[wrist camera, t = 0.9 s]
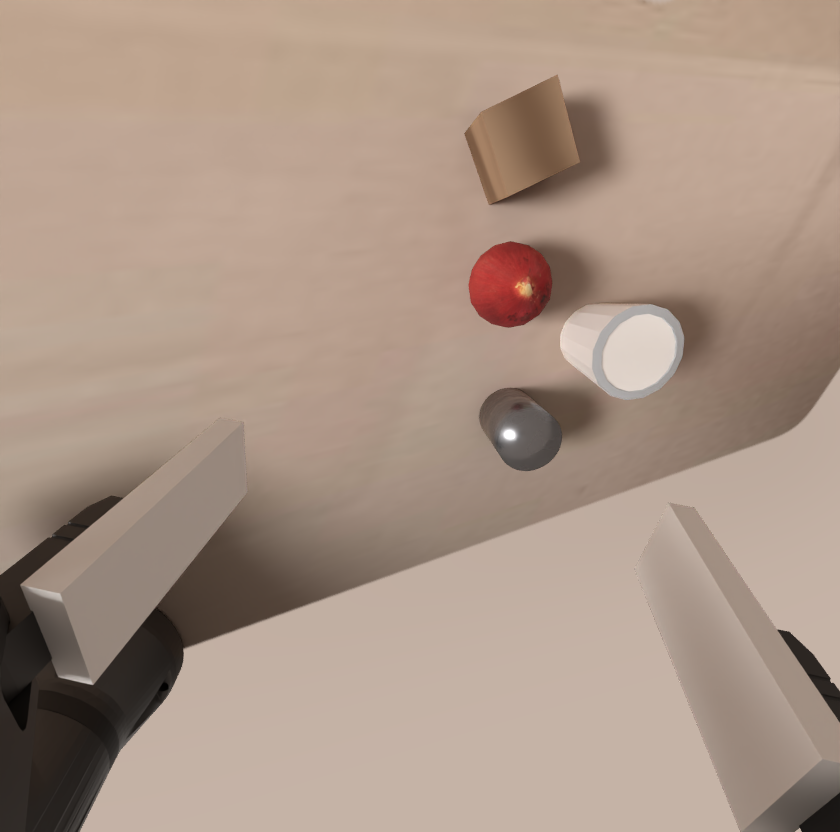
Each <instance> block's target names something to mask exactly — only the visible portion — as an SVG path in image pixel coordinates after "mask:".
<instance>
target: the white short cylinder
mask: <svg viewBox="0 0 840 832" xmlns="http://www.w3.org/2000/svg"><path fill="white" fill-rule="evenodd" d="M683 347H684V335H683V332H682V329H681V325H680V322H679V321H678V320H677V319H676V318H675V317H674V316H673V314H672V313H671V312H670V311H669V310H668V309H665V308H662V307H659V306H656V305H652V304H611V303H598V304H590V305H585V306H584V307H582V308H580V309H578V310H576V311H575V312H574V313H573V314H572V315H571V316H570V317H569V319H568V320H567V321H566V322H565V324H564V327H563V330H562V332H561V335H560V348H561V350H562V353H563V355H564V357H565V359H566V360H567V361H568V362H569V363H571V364H572V365H573V366H574V367H575V368H577V369H578V370H579V371H580V372H582V373H583V374H584V375H585V376H587V377H588V378H589V379H590V380H592V381H593V382H594V383H595V384H596V385H598V386H599V387H600V388H601V389H603V390H604V391H605V392H606V393H608V394H609V395H610V396H613V397H617V398H621V399H624V400H630V399H637V398H644V397H646V396H648V395H649V394H651V393H653V392H655V391H657V390H659V389H661V387H662V386H663V385H664V384H665V383H666V382H667V381H668V380H669V379H670V378H671V377H672V376H673V375H674V373H675V371H676V369H677V367H678V365H679V363H680V361H681V359H682V356H683Z"/></svg>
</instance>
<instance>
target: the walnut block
mask: <svg viewBox="0 0 840 832" xmlns="http://www.w3.org/2000/svg"><path fill="white" fill-rule="evenodd" d="M464 134H465V136H466V139H467V142H468V145H469V148H470V151H471V154H472V157H473V160H474V163H475V166H476V169H477V172H478V174H479V177H480V180H481V183H482V186H483V189H484V192H485V195H486V198H487V201H488V204H489V205H490V204H492V203H494V202H497V201H499V200H501V199H504V198H506V197H508V196H511V195H513V194H515V193H517V192H519V191H521V190H523V189H525V188H527V187H529V186H532V185H534V184H536V183H538V182H540V181H542V180H544V179H546V178H548V177H550V176H552V175H555V174H557V173H559V172H561V171H563V170H565V169H567V168H569V167H571V166H573V165H575V164H578V163H580V160H579V156H578V152H577V148H576V144H575V141H574V137H573V133H572V129H571V125H570V121H569V117H568V113H567V110H566V106H565V102H564V98H563V94H562V90H561V86H560V82H559V79H558V75H556V76H554V77H552V78H550V79H548V80H546V81H544V82H541V83H539V84H537V85H535V86H533V87H531V88H529V89H527V90H525V91H523V92H521V93H519V94H517V95H515V96H513V97H511V98H509V99H507V100H505V101H503V102H501V103H499V104H496V105H494V106H492V107H490V108H488V109H486V110H484V111H482V112H481V113H480V114H479V115H478V117H477V118H476V119H475V121H474V122H473V123H472V124H471V126H470V127H469V128H468V130H467V131H466V132H465V133H464Z"/></svg>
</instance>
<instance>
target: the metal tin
mask: <svg viewBox="0 0 840 832" xmlns="http://www.w3.org/2000/svg"><path fill="white" fill-rule="evenodd" d="M479 419H480V424H481V427H482V429H483V431H484V432H485V434H486V435H487V437H488V438H489V440H490V441H491V443H492V444H493V446H494V447H495V449H496V450H497V452H498V453H499V455H500V456H501V458H502V459H503V461H504V462H505V463H506V464H507V465H509V466H510V467H512V468H514V469H516V470H521V471H531V470H535V469H538V468H541V467H543V466H544V465H546V464H548V463H549V462H550V461H551V460H552V459H553V458H554V457H555V455H556V454H557V452H558V451H559V448H560V445H561V441H562V432H561V428H560V426H559V424H558V422H557V421H556V420H555V418H553V417H552V416H551V415H550V414H549V413H548V412H547V411H545V410H544V409H543V408H542V407H541V406H540V405H538V404H537V403H536V402H535V401H534V400H533V399H532V398H530V397H529V396H528V395H527V394H526V393H524V392H523V391H521V390H519V389H515V388H504V389H500V390H498V391H496V392H494V393H493V394H491V395H490V396H489V397H488V398H487V399H486V400H485V402H484V403H483V405H482V407H481V410H480V416H479Z"/></svg>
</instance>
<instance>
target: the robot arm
mask: <svg viewBox="0 0 840 832" xmlns="http://www.w3.org/2000/svg"><path fill="white" fill-rule="evenodd" d="M247 492H248V490H247V473H246V456H245V439H244V422H241V421H236V420H230V419H225V418H219V419H218V420H217V421H215V422H214V423H213V424H212V425H211V426H209V427H208V428H207V429H206V430H205V431H203V432H202V433H201V434H200V435H199V436H197V437H196V438H195V439H194V440H193V441H191V442H190V443H189V444H188V445H187V446H185V447H184V448H183V449H182V450H181V451H179V452H178V453H177V454H176V455H175V456H174V457H172V458H171V459H170V460H169V461H168V462H166V463H165V464H164V465H163V466H162V467H160V468H159V469H158V470H157V471H156V472H154V473H153V474H152V475H151V476H150V477H148V478H147V479H146V480H145V481H144V482H142V483H141V484H140V485H139V486H138V487H136V488H135V489H134V490H133V491H132V492H130V493H129V494H128V495H127V496H126V497H125V498H120V497H115V496H110V497H108V498H106V499H104V500H101V501H99V502H97V503H95V504H93V505H91V506H89V507H87V508H86V509H84V510H83V511H82V512H80V513H79V514H78V515H77V516H75V517H74V518H73V519H72V520H70V521H69V522H68V525H64V526H63V527H61V528H60V529H59V530H57V531H56V532H55V533H54V534H53V536H52V537H51V538H47V539H46V540H45V541H43V542H42V543H41V544H40V545H38V546H37V547H36V548H34V549H33V550H32V551H31V552H29V553H28V554H27V555H26V556H24V557H23V558H22V559H20V560H19V561H18V562H17V563H15V564H14V565H13V566H11V567H10V568H9V569H8V570H6V571H5V572H4V573H3V574H1V575H0V832H80V830H81V828H82V826H83V824H84V822H85V819H86V818H87V816H88V814H89V811H90V810H91V807H92V806H93V803H94V801H95V799H96V797H97V795H98V793H99V791H100V789H101V787H102V785H103V783H104V781H105V779H106V777H107V775H108V773H109V771H110V769H111V767H112V765H113V763H114V761H115V759H116V757H117V755H118V754H119V752H120V750H121V749H122V748H123V747H124V746H125V744H126V743H127V742H128V741H129V740H130V739H131V738H132V736H133V735H134V734H135V733H136V732H137V731H138V730H139V729H140V727H141V726H142V725H143V724H144V723H145V722H146V721H147V719H148V718H149V717H150V716H151V715H152V714H153V712H155V711H156V709H157V708H158V707H159V706H160V705H161V704H162V703H163V701H164V700H165V699H166V697H167V696H168V694H169V693H170V691H171V689H172V687H173V685H174V683H175V681H176V679H177V676H178V674H179V672H180V670H181V667H182V663H183V654H184V653H183V645H182V641H181V639H180V636H179V634H178V632H177V631H176V629H175V627H174V626H173V625H172V623H171V622H170V621H169V620H168V619H167V618H166V617H165V616H164V615H163V614H162V613H160V612H159V611H158V610H156V609H155V607H156V606H157V605H158V603H159V602H160V601H161V600H162V598H163V597H164V596H165V595H166V593H167V592H168V591H169V590H170V588H171V587H172V586H173V585H174V583H175V582H176V581H177V580H178V578H179V577H180V576H181V575H182V573H183V572H184V571H185V570H186V568H187V567H188V566H189V565H190V563H191V562H192V561H193V560H194V558H195V557H196V556H197V555H198V553H199V552H200V551H201V550H202V548H203V547H204V546H205V545H206V543H207V542H208V541H209V540H210V538H211V537H212V536H213V535H214V533H215V532H216V531H217V530H218V528H219V527H220V526H221V525H222V523H223V522H224V521H225V520H226V518H227V517H228V516H229V515H230V513H231V512H232V511H233V510H234V508H235V507H236V506H237V505H238V503H239V502H240V501H241V500H242V498H243V497H244V496H245V495H246V493H247ZM635 572H636V574H637V577H638V579H639V582H640V584H641V587H642V589H643V591H644V594H645V597H646V599H647V601H648V604H649V607H650V609H651V611H652V614H653V616H654V619H655V621H656V624H657V626H658V629H659V631H660V634H661V636H662V639H663V641H664V643H665V646H666V648H667V651H668V653H669V656H670V659H671V661H672V664H673V666H674V669H675V671H676V674H677V676H678V678H679V681H680V683H681V686H682V688H683V691H684V693H685V696H686V698H687V701H688V703H689V706H690V708H691V711H692V713H693V716H694V718H695V720H696V723H697V726H698V728H699V730H700V733H701V735H702V738H703V741H704V743H705V745H706V748H707V750H708V753H709V755H710V758H711V760H712V763H713V765H714V768H715V770H716V773H717V775H718V777H719V780H720V783H721V785H722V788H723V790H724V792H725V795H726V797H727V800H728V802H729V805H730V808H731V810H732V812H733V815H734V817H735V820H736V822H737V825H738V827H739V830H740V832H795V831H796V830H797V829H799V828H800V829H801V831H802V832H840V691H839V690H838V688H837V687H836V686H835V684H834V683H831V682H830V677H829V676H828V674H827V673H826V672H825V670H824V669H823V667H822V666H821V665H820V663H819V662H818V660H817V659H816V658H815V656H814V655H813V654H812V653H811V652H810V651H809V650H808V649H807V648H806V647H805V646H803V644H802V643H801V642H799V641H798V640H797V639H796V638H795V637H794V636H793V635H792V634H791V633H790V632H787V631H782V630H777V629H776V628H775V626H774V625H773V623H772V622H771V620H770V619H769V617H768V616H767V614H766V613H765V612H764V610H763V608H762V607H761V605H760V604H759V602H758V601H757V600H756V598H755V597H754V595H753V594H752V592H751V591H750V589H749V588H748V586H747V585H746V583H745V582H744V580H743V579H742V577H741V576H740V574H739V573H738V572H737V570H736V568H735V567H734V565H733V564H732V562H731V561H730V559H729V558H728V557H727V555H726V554H725V552H724V551H723V549H722V548H721V546H720V545H719V543H718V542H717V540H716V539H715V537H714V536H713V534H712V533H711V531H710V530H709V529H708V527H707V525H706V524H705V522H704V521H703V520H702V518H701V517H700V515H699V514H698V512H697V511H696V509H695V508H694V507H688V506H683V505H677V504H672V503H668V504H667V506H666V508H665V510H664V512H663V514H662V516H661V518H660V520H659V522H658V524H657V526H656V528H655V530H654V532H653V534H652V536H651V537H650V540H649V541H648V544H647V545H646V547H645V549H644V551H643V553H642V555H641V557H640V559H639V561H638V563H637V565H636V567H635Z"/></svg>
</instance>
